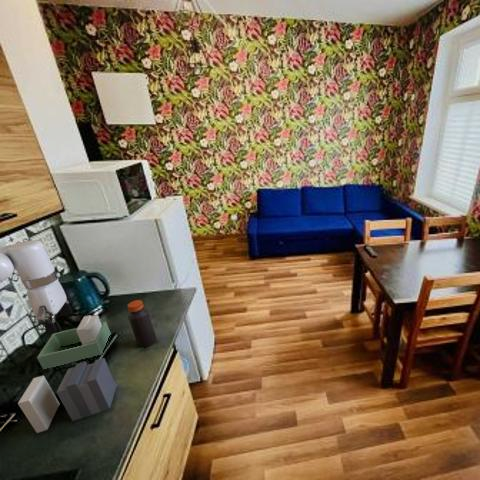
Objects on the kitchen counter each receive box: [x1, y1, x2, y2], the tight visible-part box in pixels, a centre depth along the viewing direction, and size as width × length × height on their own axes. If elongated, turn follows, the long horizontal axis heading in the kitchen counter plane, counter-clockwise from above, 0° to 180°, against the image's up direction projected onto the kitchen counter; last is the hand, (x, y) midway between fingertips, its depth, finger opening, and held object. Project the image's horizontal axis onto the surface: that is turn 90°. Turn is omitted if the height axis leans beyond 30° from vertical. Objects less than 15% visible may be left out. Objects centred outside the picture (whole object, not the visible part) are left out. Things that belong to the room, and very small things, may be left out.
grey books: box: [56, 357, 117, 422], centre depth 85 cm, size 10×9×14 cm
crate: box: [36, 321, 112, 370], centre depth 106 cm, size 18×14×8 cm
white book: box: [17, 375, 60, 434], centre depth 81 cm, size 2×9×13 cm, turn 24°
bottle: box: [127, 299, 158, 349], centre depth 109 cm, size 7×7×20 cm
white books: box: [76, 314, 102, 345], centre depth 107 cm, size 4×9×13 cm, turn 24°
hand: (61, 323), depth 89 cm, fingers open, 9 cm apart
